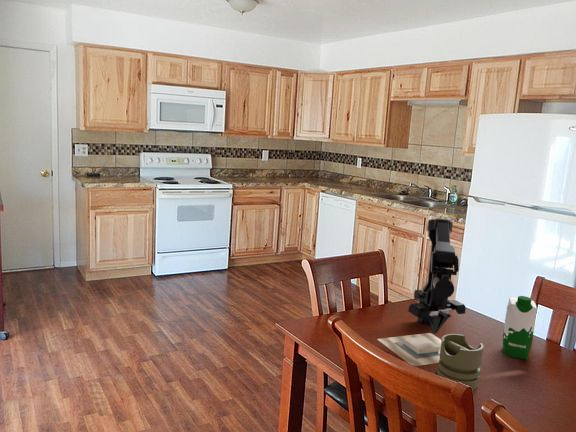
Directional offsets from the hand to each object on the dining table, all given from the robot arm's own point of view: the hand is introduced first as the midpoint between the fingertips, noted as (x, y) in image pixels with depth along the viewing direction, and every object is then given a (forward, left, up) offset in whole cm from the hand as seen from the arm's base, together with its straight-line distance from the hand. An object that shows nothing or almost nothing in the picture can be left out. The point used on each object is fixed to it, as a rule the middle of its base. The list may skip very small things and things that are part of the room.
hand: (434, 333), depth 165 cm
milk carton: (-27, +9, -6) cm, 29 cm away
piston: (+6, +19, -6) cm, 21 cm away
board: (+4, 0, -6) cm, 7 cm away
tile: (+1, 0, -4) cm, 4 cm away
